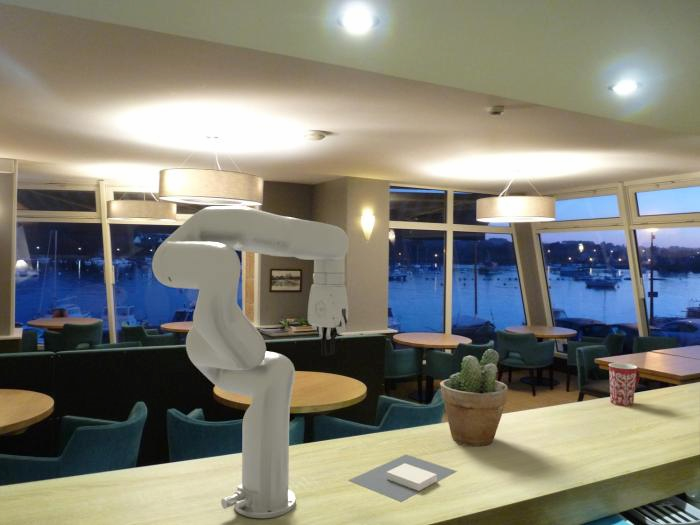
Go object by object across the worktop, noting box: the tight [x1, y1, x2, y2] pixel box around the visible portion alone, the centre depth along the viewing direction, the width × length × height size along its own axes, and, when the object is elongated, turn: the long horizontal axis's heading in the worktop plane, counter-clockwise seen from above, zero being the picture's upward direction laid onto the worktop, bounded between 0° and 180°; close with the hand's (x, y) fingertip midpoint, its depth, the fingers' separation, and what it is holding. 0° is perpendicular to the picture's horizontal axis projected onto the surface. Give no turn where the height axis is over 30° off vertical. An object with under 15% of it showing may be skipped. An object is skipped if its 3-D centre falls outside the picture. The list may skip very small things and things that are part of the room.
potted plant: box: [439, 348, 509, 447], centre depth 153 cm, size 18×19×25 cm
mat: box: [348, 454, 457, 503], centre depth 127 cm, size 22×15×1 cm
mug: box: [608, 362, 640, 407], centre depth 193 cm, size 13×9×14 cm
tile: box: [386, 463, 437, 492], centre depth 124 cm, size 7×2×9 cm
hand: (328, 354), depth 134 cm, fingers closed
